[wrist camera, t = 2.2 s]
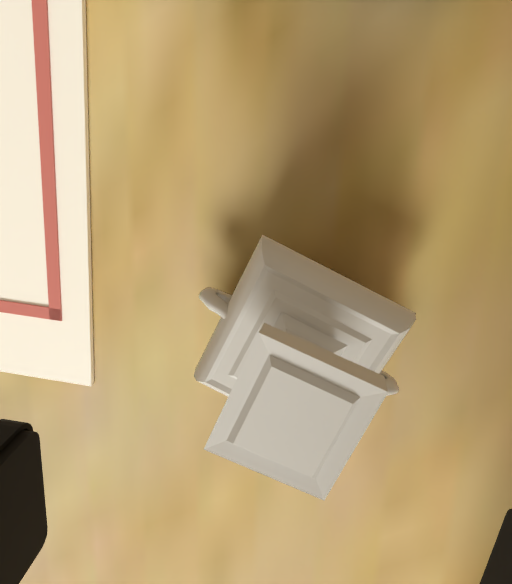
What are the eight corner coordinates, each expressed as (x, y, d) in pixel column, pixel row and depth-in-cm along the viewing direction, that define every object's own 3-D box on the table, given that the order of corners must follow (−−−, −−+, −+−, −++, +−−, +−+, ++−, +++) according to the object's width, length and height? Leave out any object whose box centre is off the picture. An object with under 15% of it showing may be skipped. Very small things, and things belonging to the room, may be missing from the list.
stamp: (185, 335, 22) (108, 447, 14) (243, 210, 19) (189, 258, 12) (353, 418, 22) (371, 575, 14) (429, 303, 20) (503, 413, 12)
